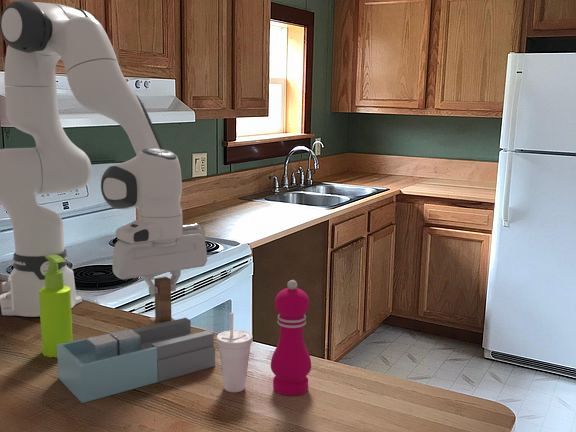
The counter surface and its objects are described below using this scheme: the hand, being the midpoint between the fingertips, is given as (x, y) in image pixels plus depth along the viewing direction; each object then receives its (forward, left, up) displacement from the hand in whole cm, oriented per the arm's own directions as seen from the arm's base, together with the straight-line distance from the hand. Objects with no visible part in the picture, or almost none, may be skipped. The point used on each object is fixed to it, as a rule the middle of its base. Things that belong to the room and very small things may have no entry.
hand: (162, 292), depth 133 cm
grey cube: (+12, -13, -7) cm, 19 cm away
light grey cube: (+12, -18, -7) cm, 22 cm away
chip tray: (+12, -17, -11) cm, 23 cm away
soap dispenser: (-6, -20, -11) cm, 24 cm away
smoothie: (+28, 0, -11) cm, 30 cm away
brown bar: (0, 0, -9) cm, 9 cm away
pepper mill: (+34, +8, -11) cm, 36 cm away
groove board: (+12, -4, -11) cm, 16 cm away
